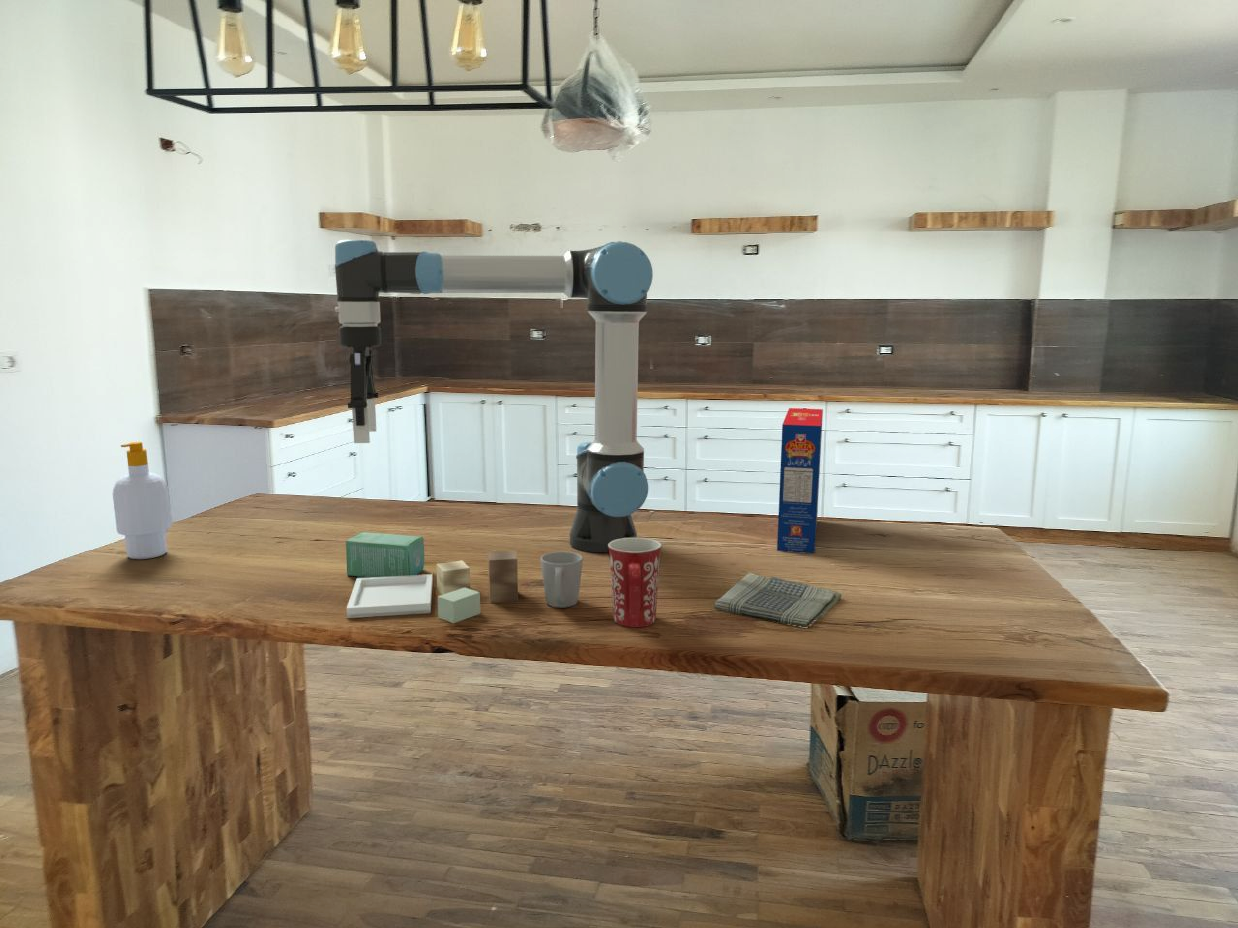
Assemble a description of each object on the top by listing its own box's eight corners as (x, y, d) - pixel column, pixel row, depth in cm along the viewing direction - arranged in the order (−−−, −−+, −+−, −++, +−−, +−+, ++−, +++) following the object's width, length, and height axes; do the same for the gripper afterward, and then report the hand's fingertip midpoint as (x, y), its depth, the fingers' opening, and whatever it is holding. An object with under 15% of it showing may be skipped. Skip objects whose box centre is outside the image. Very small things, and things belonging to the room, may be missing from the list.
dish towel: (808, 633, 142) (809, 614, 142) (711, 612, 152) (712, 595, 151) (843, 600, 158) (844, 583, 157) (753, 583, 167) (754, 567, 167)
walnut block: (516, 591, 160) (515, 550, 159) (518, 600, 155) (517, 558, 154) (489, 593, 159) (488, 552, 158) (490, 602, 154) (489, 560, 153)
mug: (609, 609, 151) (609, 536, 149) (660, 610, 151) (661, 537, 148) (604, 637, 139) (604, 558, 136) (660, 638, 138) (661, 559, 136)
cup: (584, 595, 158) (584, 551, 156) (579, 615, 148) (579, 568, 147) (544, 594, 158) (543, 550, 157) (536, 614, 149) (535, 567, 147)
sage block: (465, 608, 152) (464, 587, 151) (480, 614, 149) (479, 592, 148) (438, 618, 147) (437, 596, 146) (453, 624, 145) (453, 601, 144)
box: (410, 581, 166) (408, 544, 164) (346, 577, 168) (344, 540, 167) (426, 570, 173) (424, 534, 171) (364, 566, 175) (362, 531, 174)
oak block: (463, 585, 164) (462, 560, 163) (470, 593, 159) (469, 567, 158) (437, 588, 162) (436, 563, 161) (444, 597, 157) (443, 571, 156)
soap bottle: (108, 558, 179) (95, 445, 174) (151, 545, 188) (139, 437, 183) (143, 564, 175) (131, 448, 170) (185, 551, 184) (174, 440, 180)
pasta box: (784, 519, 213) (789, 408, 208) (817, 521, 211) (822, 409, 206) (776, 550, 187) (782, 424, 181) (814, 553, 185) (821, 426, 179)
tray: (432, 583, 165) (432, 574, 164) (430, 612, 149) (430, 603, 149) (357, 587, 162) (356, 578, 162) (347, 618, 147) (346, 608, 146)
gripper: (347, 323, 171) (353, 427, 175) (329, 327, 147) (336, 448, 151) (385, 323, 173) (390, 426, 177) (374, 327, 149) (380, 447, 153)
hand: (365, 437), depth 164 cm, fingers open, 13 cm apart
